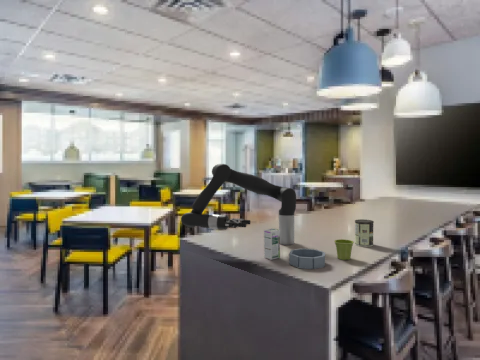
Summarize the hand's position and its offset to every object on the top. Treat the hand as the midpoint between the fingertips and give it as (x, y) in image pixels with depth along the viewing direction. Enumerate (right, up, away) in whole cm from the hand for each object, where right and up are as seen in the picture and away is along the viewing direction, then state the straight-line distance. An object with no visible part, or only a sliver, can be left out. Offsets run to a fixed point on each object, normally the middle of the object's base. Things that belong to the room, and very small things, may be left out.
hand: (248, 223), depth 172 cm
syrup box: (+12, -17, -2) cm, 21 cm away
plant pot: (+48, -17, -4) cm, 51 cm away
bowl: (+28, -17, -12) cm, 35 cm away
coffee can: (+68, -16, +23) cm, 74 cm away
